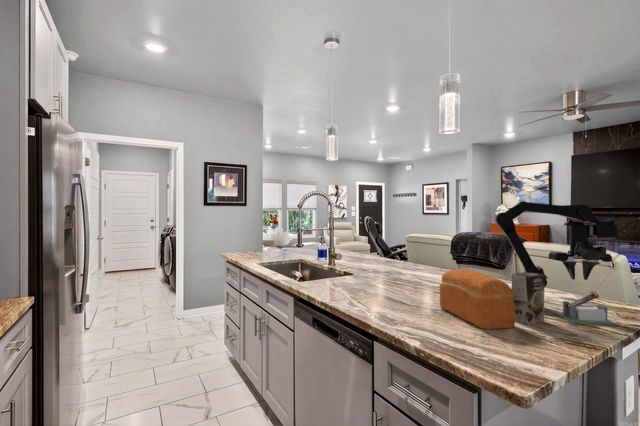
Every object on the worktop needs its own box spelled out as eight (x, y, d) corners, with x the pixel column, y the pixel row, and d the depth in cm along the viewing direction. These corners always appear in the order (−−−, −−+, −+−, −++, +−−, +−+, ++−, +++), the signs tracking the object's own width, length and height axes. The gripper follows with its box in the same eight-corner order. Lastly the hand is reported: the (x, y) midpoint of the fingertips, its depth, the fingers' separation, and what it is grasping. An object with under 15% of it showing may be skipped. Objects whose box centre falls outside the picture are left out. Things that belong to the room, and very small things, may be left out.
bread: (467, 305, 131) (468, 265, 131) (519, 328, 105) (519, 279, 105) (436, 307, 128) (436, 266, 128) (481, 331, 102) (481, 280, 102)
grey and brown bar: (570, 309, 113) (568, 305, 113) (566, 307, 115) (564, 303, 116) (599, 297, 112) (596, 292, 112) (594, 295, 114) (592, 290, 114)
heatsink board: (571, 323, 110) (572, 307, 110) (555, 313, 120) (555, 299, 119) (615, 325, 108) (615, 308, 108) (594, 315, 118) (594, 300, 118)
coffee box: (529, 325, 107) (529, 276, 107) (510, 319, 113) (510, 273, 113) (545, 321, 111) (545, 274, 111) (526, 316, 117) (526, 271, 117)
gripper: (565, 239, 116) (564, 283, 116) (624, 240, 113) (623, 285, 113) (547, 237, 127) (547, 277, 127) (601, 237, 124) (601, 278, 124)
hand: (579, 279), depth 122 cm, fingers open, 4 cm apart
